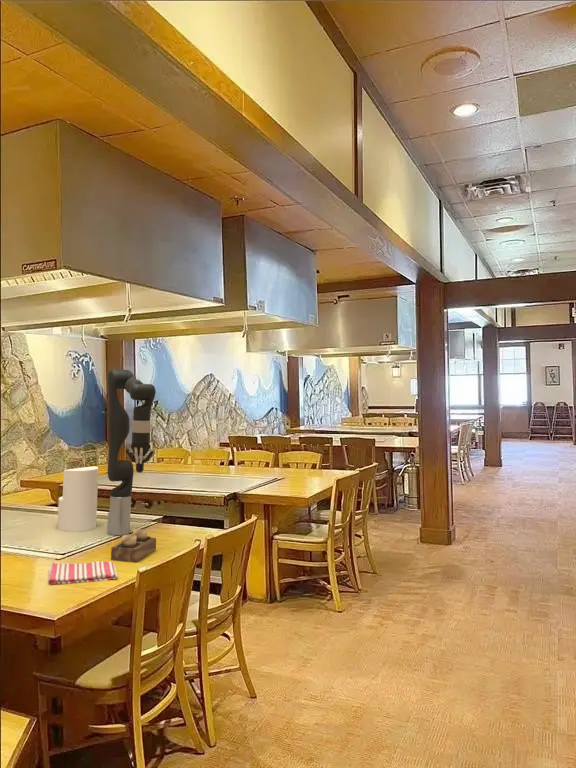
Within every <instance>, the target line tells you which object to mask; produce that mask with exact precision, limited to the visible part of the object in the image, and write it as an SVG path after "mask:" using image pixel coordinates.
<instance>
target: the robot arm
mask: <svg viewBox="0 0 576 768" xmlns="http://www.w3.org/2000/svg"><path fill="white" fill-rule="evenodd" d="M117 390H125V391H126V393H128V394H129V396H130V399H132V400H133V401H144V403H143V404H142V405H137V406H135V407H134V408H133V410H132V411H133V412H132V415H133V416H132V423H131V424H132V425H131V426H132V428H131V445H130V447H129V448H128V449H126V450H125V453H126V455H128V458H129V459H130V460H129V459H128V460H118V458H119V454H120V453H119V452H120V451H121V448H122V445H124V442H125V441H126V439H127V438H128V436H129V434H130V416H129V414H128V412H127V411H126V409H125V408H124V406H123V404H122V403H121V401H120V399H119V395H118V391H117ZM107 391H108V456H107V477H108V480H109V481H110V482H121V483H120V484H119V485H117V486H115V487H113V488H112V489H110V494H109V495H110V499H109V502H110V503H109V512H107V524H106V525H107V526H106V527H107V528H106V529H107V530H106V531H107V532H106V534H109V535H110V536H111V535H112V536H123V535H130V533H131V514H132V513H131V508H132V491H133V481H134V472H135V471H134V464H133V463H135V470H136V473H138V474H139V473H143V471H144V470H145V469H144V467H145V463H148V462H149V461H150V460H151V459H152V457H153V456H154V455H155V454H156V451H155V450H154V449H152V448H151V444H150V443H151V411H152V406H153V403H154V399H155V397H156V394H157V393H156V388H155V386H154V384H152V383H151V384H150V383H143V381H141V380H139V379H137V377H136V376H135V374H134V373H133V372H132V371H131V370H129V369H115V368H113V369H112V368H111V369H109V371H108V373H107Z"/></svg>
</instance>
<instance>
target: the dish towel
mask: <svg viewBox="0 0 576 768" xmlns="http://www.w3.org/2000/svg"><path fill="white" fill-rule="evenodd" d="M48 566H49V567H48V582H49V583H50V584H51V585H52V586H53V585H71V584H81V583H91V582H92V583H93V582H104V581H103V580H107V581H111V580H110V579H114V580H116V579H118V573H117V569H116V568H117V567H116V565H115V563H114V562H113V561H105V560H103V561H102V560H101V561H98V560H97V561H92V562H87V563H56V562H51V563H50V564H49V565H48Z"/></svg>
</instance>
